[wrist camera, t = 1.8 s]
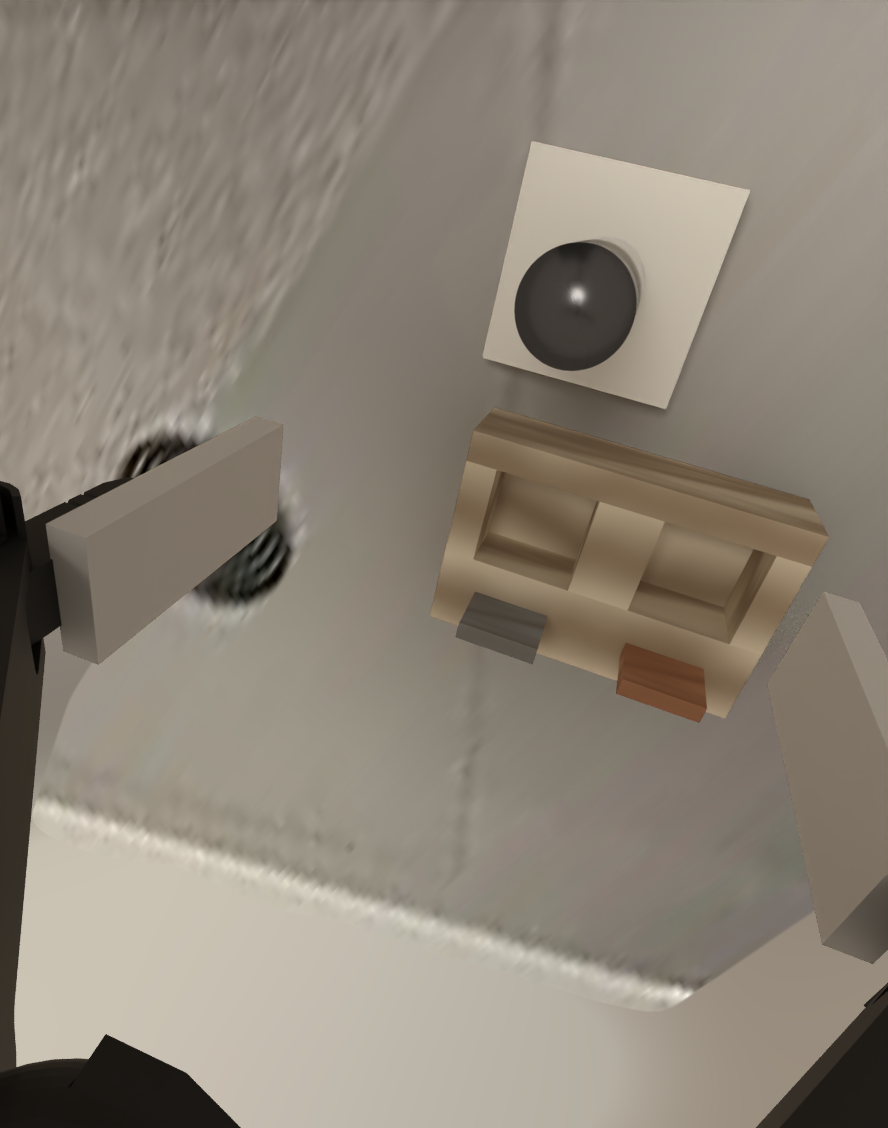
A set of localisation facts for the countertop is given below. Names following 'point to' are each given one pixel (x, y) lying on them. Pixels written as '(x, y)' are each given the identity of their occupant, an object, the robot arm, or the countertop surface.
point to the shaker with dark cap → (579, 302)
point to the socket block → (621, 562)
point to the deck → (652, 227)
